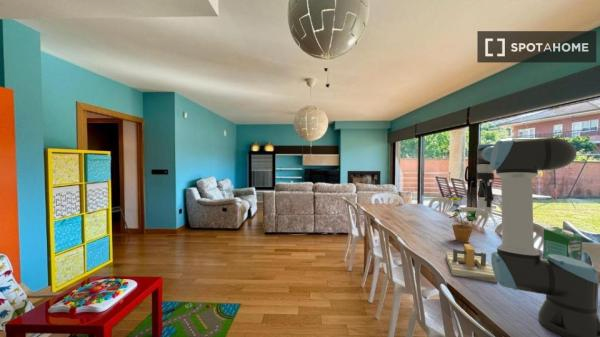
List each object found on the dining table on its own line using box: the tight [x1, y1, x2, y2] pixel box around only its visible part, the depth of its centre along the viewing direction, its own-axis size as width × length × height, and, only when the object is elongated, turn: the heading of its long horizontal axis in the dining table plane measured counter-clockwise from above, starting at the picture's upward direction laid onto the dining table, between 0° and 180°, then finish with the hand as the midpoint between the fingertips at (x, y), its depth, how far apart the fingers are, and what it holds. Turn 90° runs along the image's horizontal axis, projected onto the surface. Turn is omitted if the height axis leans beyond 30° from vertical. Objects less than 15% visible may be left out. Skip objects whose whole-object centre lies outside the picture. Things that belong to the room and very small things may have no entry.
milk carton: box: [542, 226, 583, 261], centre depth 114 cm, size 9×9×25 cm
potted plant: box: [448, 196, 478, 243], centre depth 176 cm, size 18×19×30 cm
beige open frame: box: [445, 252, 498, 283], centre depth 131 cm, size 25×18×3 cm
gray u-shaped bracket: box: [452, 248, 487, 266], centre depth 131 cm, size 2×14×9 cm, turn 66°
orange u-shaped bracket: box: [463, 243, 475, 268], centre depth 131 cm, size 9×3×9 cm, turn 156°
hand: (484, 210), depth 138 cm, fingers open, 13 cm apart
